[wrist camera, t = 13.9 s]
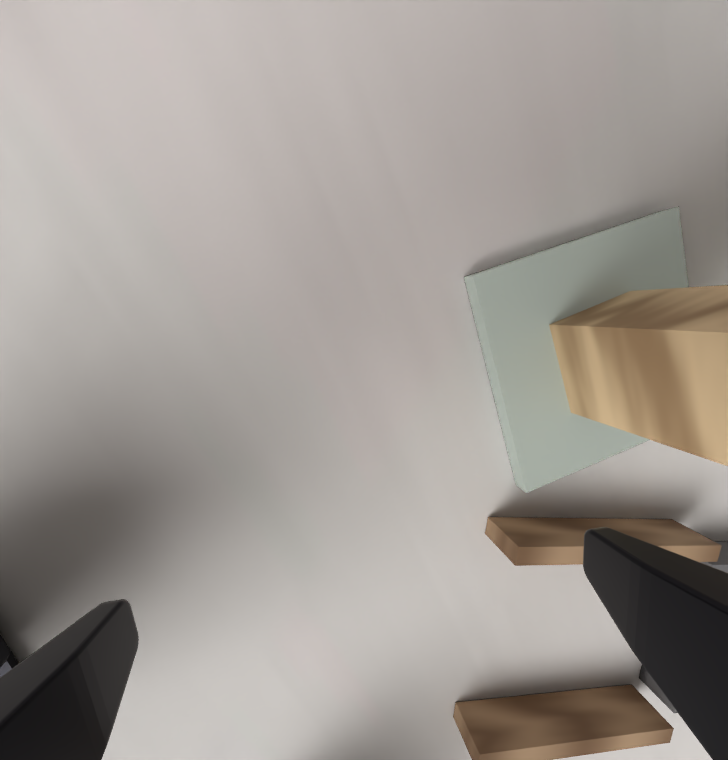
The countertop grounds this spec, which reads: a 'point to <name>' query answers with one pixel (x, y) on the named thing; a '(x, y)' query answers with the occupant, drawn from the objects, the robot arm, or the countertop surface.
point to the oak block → (652, 366)
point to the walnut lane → (578, 707)
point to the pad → (535, 343)
